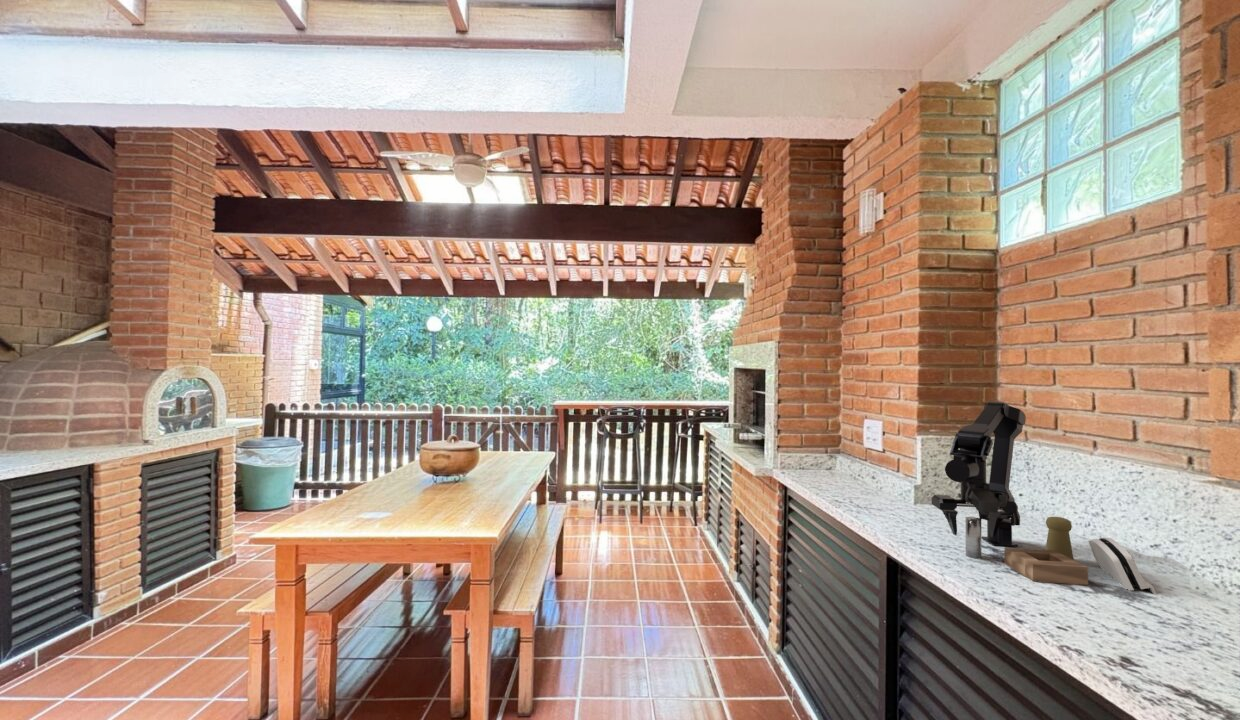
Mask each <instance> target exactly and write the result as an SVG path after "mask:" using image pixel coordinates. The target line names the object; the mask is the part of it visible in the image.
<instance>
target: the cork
mask: <svg viewBox="0 0 1240 720" xmlns="http://www.w3.org/2000/svg"><path fill="white" fill-rule="evenodd" d="M1045 525H1046V527H1047V529H1048V530H1047V531H1048V532H1047V537H1046V544H1045V549H1044V550H1055V551H1057V552H1059V553H1061V554H1063V555H1065V556H1067V557H1069V558H1070V559H1072V560H1074V561H1075V559H1074V554H1073V548H1072V547H1073V546H1072V541H1071V536H1070V532H1071V531H1072V528H1073V525H1072V522H1071V521H1070V520H1069V519H1067V518H1064V517H1062V516H1048V517H1047V518H1046V519H1045Z"/></svg>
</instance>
